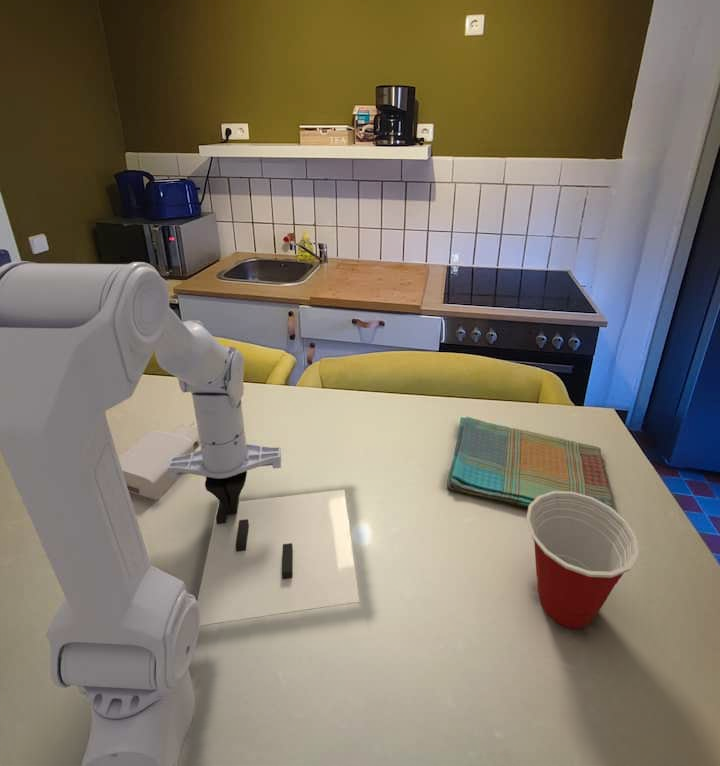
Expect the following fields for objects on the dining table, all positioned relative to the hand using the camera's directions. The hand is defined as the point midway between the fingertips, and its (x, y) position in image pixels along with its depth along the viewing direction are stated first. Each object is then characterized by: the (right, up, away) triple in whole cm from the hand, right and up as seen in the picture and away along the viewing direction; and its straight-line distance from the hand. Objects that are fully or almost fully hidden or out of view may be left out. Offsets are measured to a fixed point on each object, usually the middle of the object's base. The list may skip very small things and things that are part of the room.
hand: (233, 508), depth 61 cm
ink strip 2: (+2, -2, -4) cm, 5 cm away
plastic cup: (+42, -6, -11) cm, 44 cm away
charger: (-14, +2, +11) cm, 18 cm away
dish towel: (+45, +2, +9) cm, 46 cm away
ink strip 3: (+9, -3, -7) cm, 12 cm away
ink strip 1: (-1, -1, 0) cm, 2 cm away
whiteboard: (+8, -3, -5) cm, 10 cm away
